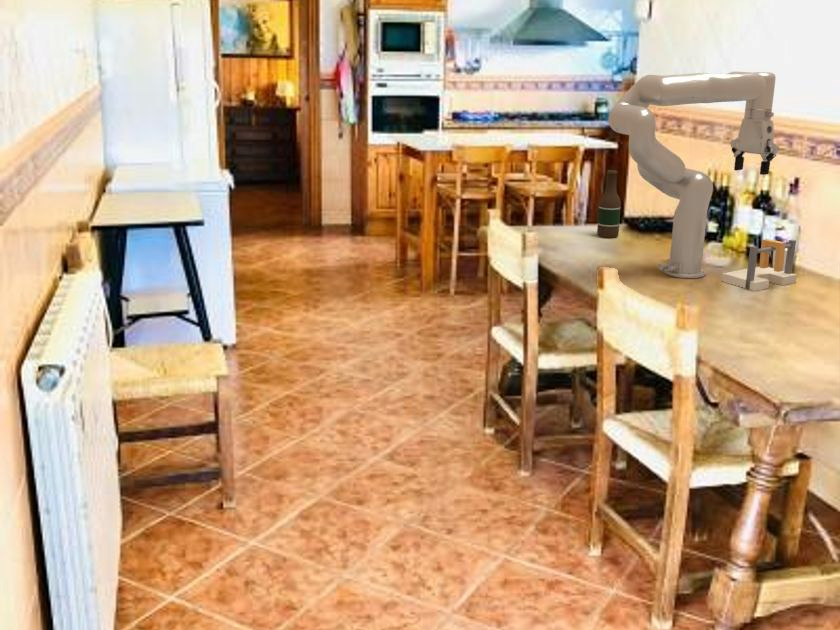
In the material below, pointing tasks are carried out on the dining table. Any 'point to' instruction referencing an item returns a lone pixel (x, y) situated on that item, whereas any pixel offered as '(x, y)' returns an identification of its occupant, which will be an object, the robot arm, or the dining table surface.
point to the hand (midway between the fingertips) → (751, 172)
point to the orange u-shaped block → (778, 255)
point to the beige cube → (784, 257)
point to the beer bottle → (609, 209)
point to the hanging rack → (763, 271)
